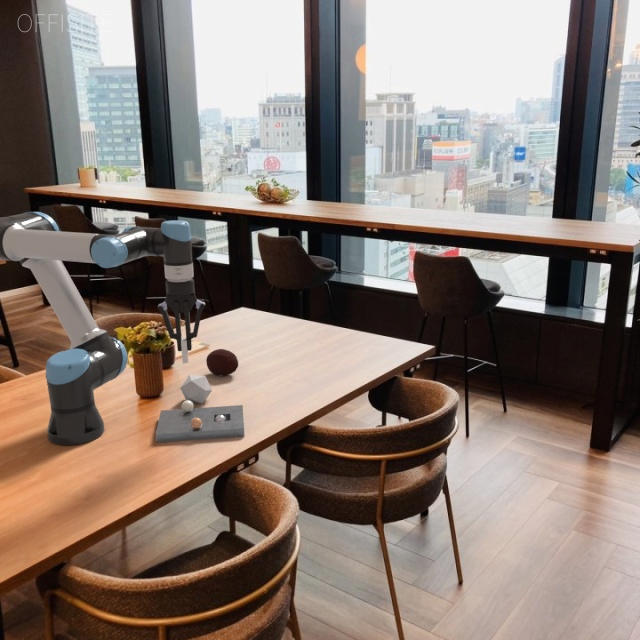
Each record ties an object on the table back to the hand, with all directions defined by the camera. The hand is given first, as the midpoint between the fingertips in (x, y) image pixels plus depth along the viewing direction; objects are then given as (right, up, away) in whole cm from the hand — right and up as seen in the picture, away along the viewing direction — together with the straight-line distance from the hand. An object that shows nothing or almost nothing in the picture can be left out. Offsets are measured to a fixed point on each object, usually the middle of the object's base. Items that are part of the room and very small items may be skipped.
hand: (185, 361), depth 193 cm
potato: (+4, -8, +45) cm, 46 cm away
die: (-1, -14, +24) cm, 28 cm away
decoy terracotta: (+3, -17, -1) cm, 17 cm away
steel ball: (+9, -17, +6) cm, 20 cm away
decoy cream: (-1, -14, +10) cm, 17 cm away
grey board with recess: (+3, -19, +6) cm, 20 cm away
